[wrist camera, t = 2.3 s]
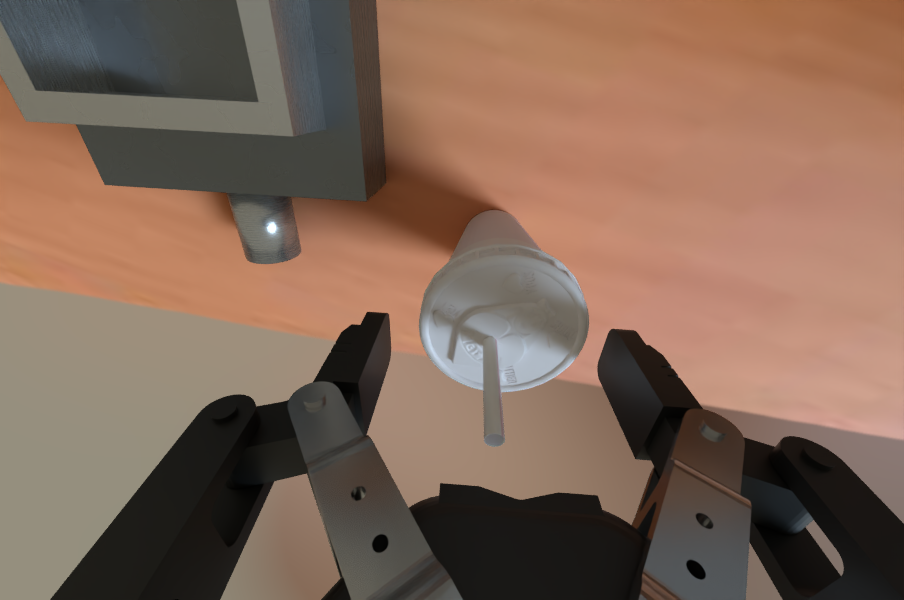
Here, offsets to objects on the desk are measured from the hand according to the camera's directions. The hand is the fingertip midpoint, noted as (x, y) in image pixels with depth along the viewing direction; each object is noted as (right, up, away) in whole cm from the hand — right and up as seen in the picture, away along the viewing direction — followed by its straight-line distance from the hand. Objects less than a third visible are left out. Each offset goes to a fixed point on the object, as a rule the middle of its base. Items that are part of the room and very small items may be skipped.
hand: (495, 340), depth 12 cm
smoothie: (+1, +5, +9) cm, 10 cm away
